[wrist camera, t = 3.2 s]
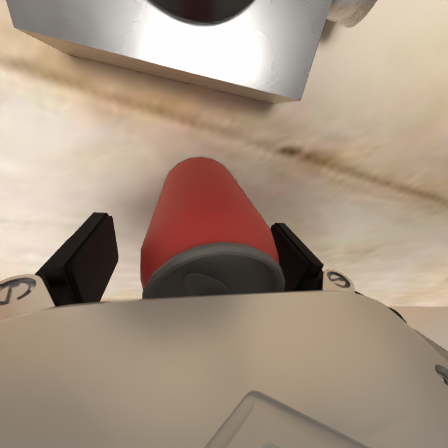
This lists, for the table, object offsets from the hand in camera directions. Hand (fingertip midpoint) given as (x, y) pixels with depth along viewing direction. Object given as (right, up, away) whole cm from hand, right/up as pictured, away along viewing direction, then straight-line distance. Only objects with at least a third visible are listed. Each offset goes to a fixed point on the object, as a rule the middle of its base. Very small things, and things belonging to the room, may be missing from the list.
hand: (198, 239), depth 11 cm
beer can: (-1, +4, +6) cm, 8 cm away
